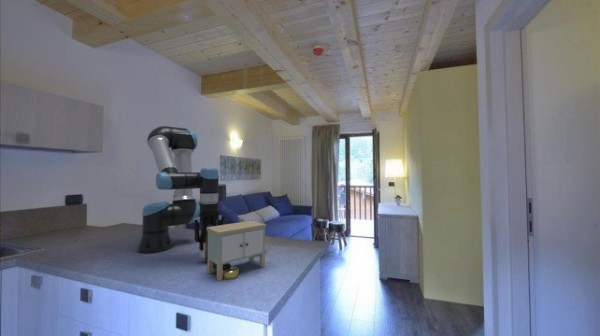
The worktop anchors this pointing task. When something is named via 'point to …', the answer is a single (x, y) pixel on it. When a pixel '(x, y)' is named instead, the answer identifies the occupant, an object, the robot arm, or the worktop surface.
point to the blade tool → (207, 253)
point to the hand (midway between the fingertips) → (208, 256)
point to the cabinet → (235, 244)
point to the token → (230, 273)
